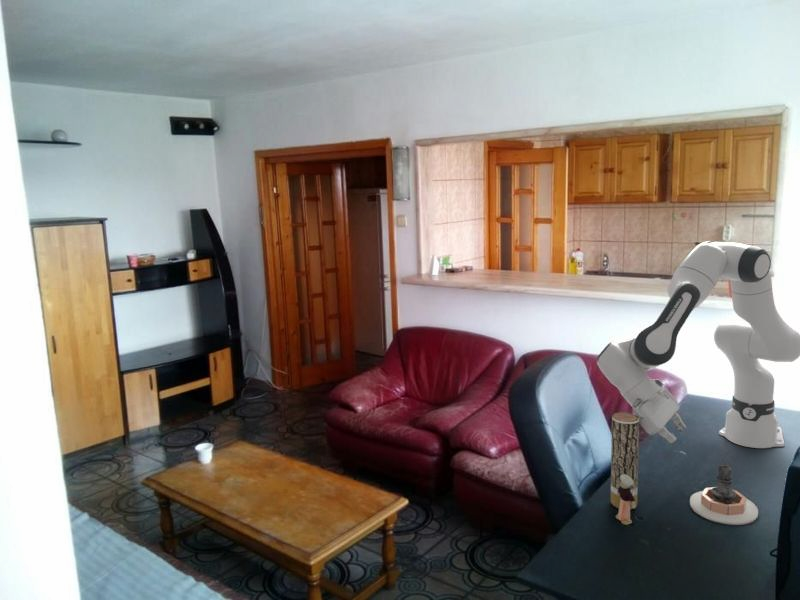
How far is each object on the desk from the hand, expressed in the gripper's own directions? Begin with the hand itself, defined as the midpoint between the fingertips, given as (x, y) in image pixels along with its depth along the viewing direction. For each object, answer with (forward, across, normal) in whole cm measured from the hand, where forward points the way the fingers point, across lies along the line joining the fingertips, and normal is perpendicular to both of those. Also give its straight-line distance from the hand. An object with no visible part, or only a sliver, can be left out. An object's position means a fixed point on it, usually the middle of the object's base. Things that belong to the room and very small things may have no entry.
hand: (678, 435), depth 169 cm
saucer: (+21, 0, +4) cm, 21 cm away
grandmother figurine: (+8, -20, +18) cm, 28 cm away
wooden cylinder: (+6, -12, +20) cm, 24 cm away
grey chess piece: (+20, 0, +4) cm, 21 cm away
